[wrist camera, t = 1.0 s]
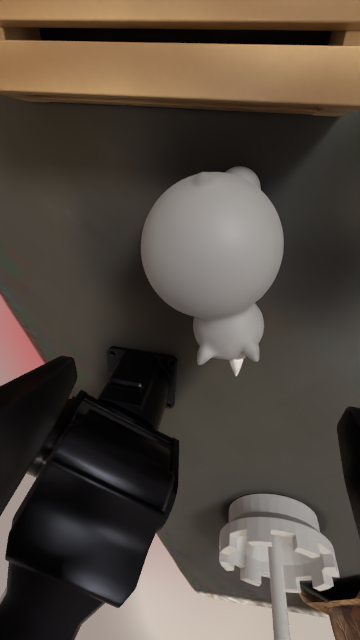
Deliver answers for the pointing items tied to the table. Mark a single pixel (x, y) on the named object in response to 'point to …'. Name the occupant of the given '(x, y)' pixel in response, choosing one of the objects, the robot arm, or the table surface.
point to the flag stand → (277, 549)
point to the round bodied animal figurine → (215, 258)
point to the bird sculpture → (338, 615)
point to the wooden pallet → (184, 56)
